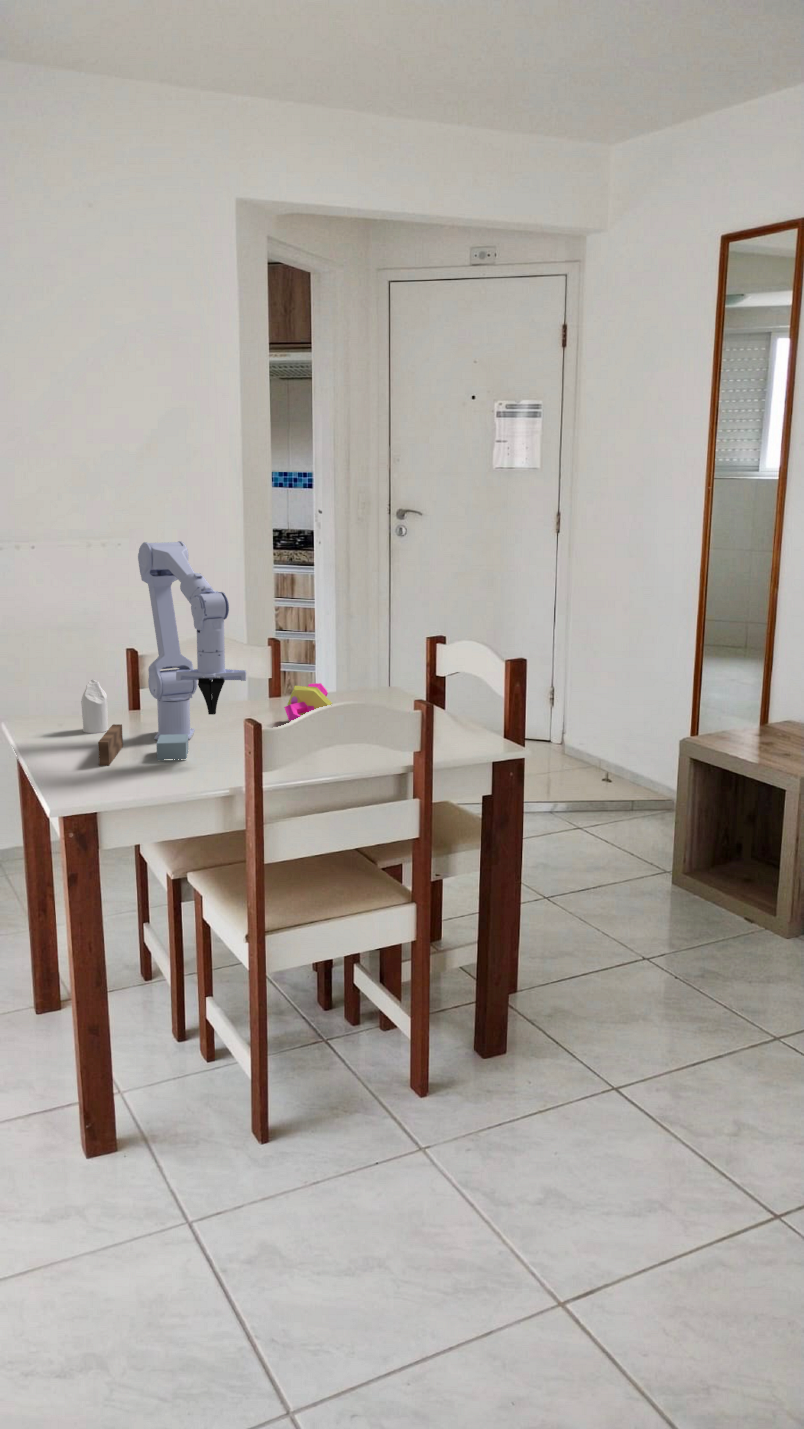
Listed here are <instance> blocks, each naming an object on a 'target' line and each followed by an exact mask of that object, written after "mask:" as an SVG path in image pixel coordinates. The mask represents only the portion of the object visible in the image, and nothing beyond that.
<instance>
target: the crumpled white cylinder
mask: <svg viewBox="0 0 804 1429" xmlns="http://www.w3.org/2000/svg"><path fill="white" fill-rule="evenodd" d="M80 704H81V714H82V715H81V716H82V731H83V733H85V734H99V733H106V732H107V731H108V730H109V715H108V695H107V693H106V691H105V690H104V689H103V688H102V686H101V684H100V682H99V681H98V680H95V679H91V680H90V681H89V682H88V683H87V685H86V686H85V689H84V692H83V694H82V696H81V701H80Z"/></svg>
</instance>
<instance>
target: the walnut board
mask: <svg viewBox="0 0 804 1429" xmlns="http://www.w3.org/2000/svg"><path fill="white" fill-rule="evenodd" d="M123 737H124V736H123V724H115V723H113V724H112V725H111V726H110V727H108V730H107V731H106V732H104V734H103V736H102V737H101V738H100V739H99V740H98V741H97V743H98V745H97V746H98V748H97V749H98V765H99V766H104V767H105V766H106V765H107V766H108V765H109V766H110V765H111V763H112V762H113V759H114V760H115V759H116V757H117V756H118V754H119V753H120V751H121V750H122V749H123V747H124V744H123ZM109 766H108V767H109Z"/></svg>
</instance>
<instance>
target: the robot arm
mask: <svg viewBox="0 0 804 1429" xmlns="http://www.w3.org/2000/svg"><path fill="white" fill-rule="evenodd" d="M138 548H139V549H138V554H137V561H138V567H139V568H138V569H139V574H140V577H141V581H142V582H144V583H146V584H147V588H148V591H149V593H148V594H149V598H150V606H151V611H152V612H151V613H152V618H153V619H152V620H153V624H154V626H153V627H154V633H155V639H156V646H157V651H158V652H157V653H158V656H157V658H156V659H155V660H153V661H152V662H151V663H150V665H149V666H148V681H147V684H148V690H149V693H150V695H151V696H152V697H153V698H154V699H156V700H157V702H156V704H157V728H158V729H157V733H156V735H155V736H154V740H157V741H158V738H159V736H160V735H169V734H188V741H189V740H191V739H192V736H193V734H194V732H195V728H191V708H190V706H191V705H190V704H191V703H190V702H191V700H190V699H192V698H193V695H194V694H196V691H197V689H198V688H199V691H201V694H202V696H203V698H204V701H205V703H206V707H207V708H206V709H207V713H208V715H216V714H217V705H218V701H219V698H220V694H221V691H222V690H223V686H224V685H225V681H241V682H244V681H247V670H246V669H245V670H243V669H241V670H240V669H228V668H226V663H225V662H226V661H225V660H226V655H225V653H226V652H225V650H226V648H225V647H226V646H225V620H226V619H227V618H228V616H229V613H230V604H229V600H228V597H227V595H226V594H225V592H223V591H218V590H214V588H213V587H212V586H211V584H210V583H209V581H208V580H207V579H206V578H205V576H204V575H202V573H200V572H195V571H194V569H193V567H192V565H191V563H190V562H189V549H188V548H187V545H186V544H185V543H184V542H183V541H182V540H181V541H180V540H179V541H171V542H170V541H169V542H148V541H144V542H142V543H141V545H140V547H138ZM177 580H178V581H179V582H180V585H179V588H180V592H181V593H182V594H183V597H185V598H186V600H187V601H188V603H189V604H190V611H191V615H192V618H193V627H194V629H195V630H196V655H197V658H196V659H197V660H196V662H197V664H196V665H197V668H196V669H195V668H194V665H193V662H192V660H191V659H189V658H187V657H186V656H185V655H183V654H181V653H182V652H181V646H180V640H179V633H178V632H179V631H178V627H177V620H176V613H175V607H174V599H173V592H172V584H173V583H174V582H176V581H177Z"/></svg>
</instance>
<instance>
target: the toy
mask: <svg viewBox="0 0 804 1429" xmlns="http://www.w3.org/2000/svg"><path fill="white" fill-rule="evenodd" d="M293 686H294V687H293V689H292V692H291V694H290V696H289V699H288V702H287V705H286V706H284V707H283V708H284V710H285V713H286V716H287V719H288V721H291V720H294V719H296V718H298V717H300V716H301V715H303V714H305V713H306V712H309V711H311V710H314V709H316V708H319V707H323V706H327V705H331V704H332V705H333V702H332V701H331V700H330V699H329V698H328V697H327V696H328V694H329V693H328V690H327V689H326V687H324V685H323V683H321V682H320V683H319V682H318V683H308V685H307V686H306V685H305V686H304V685H293ZM332 705H331V706H332Z"/></svg>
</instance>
